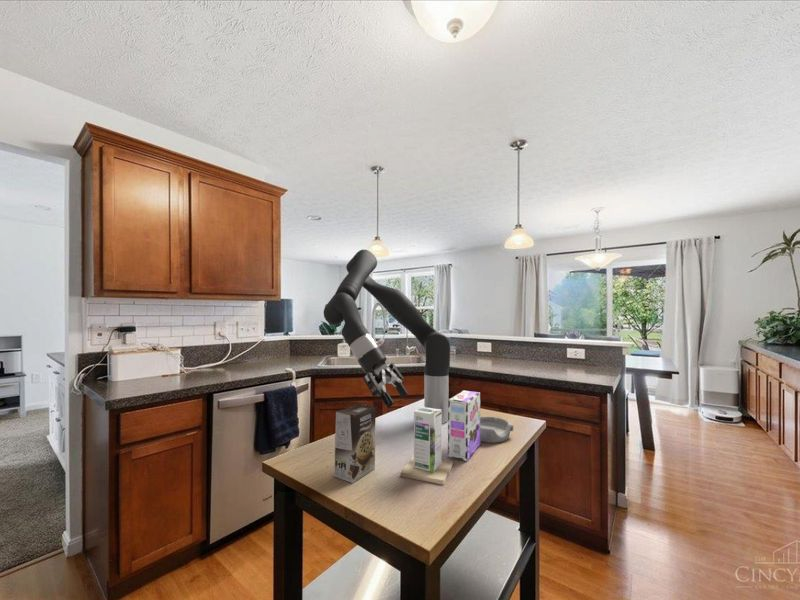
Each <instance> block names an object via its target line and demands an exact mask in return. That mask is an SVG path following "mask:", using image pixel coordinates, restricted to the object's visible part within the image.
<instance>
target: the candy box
mask: <svg viewBox="0 0 800 600" xmlns="http://www.w3.org/2000/svg"><path fill="white" fill-rule="evenodd" d="M480 417H481V392H480V391H479V392H478V391H472V390H471V391H470V390H462V391H460V392H459V393H457V394H456V395H453V396H452V397H451V398H449V400H448V421H447V424H448V425H447V457H448V458H452V459H456V460H461V461H464V462H467V461H468V460H470V458H471V457H472V456H473V454H475V452H476V451H477V449H479V447H480V446H481V441H480Z"/></svg>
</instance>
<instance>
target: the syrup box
mask: <svg viewBox="0 0 800 600" xmlns="http://www.w3.org/2000/svg"><path fill="white" fill-rule="evenodd" d="M442 425H443V423H442V409H433V408H426V407H424V406H422V407H419V408H417V409H416V410H414V411H413V456H414V468H418V469H422V470H426V471H429V472H432V473H433V472H434V471H435V470H436V469H437V468H438V467H439V466H440V465H441V459H442V433H443V432H442V429H443V428H442Z"/></svg>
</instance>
